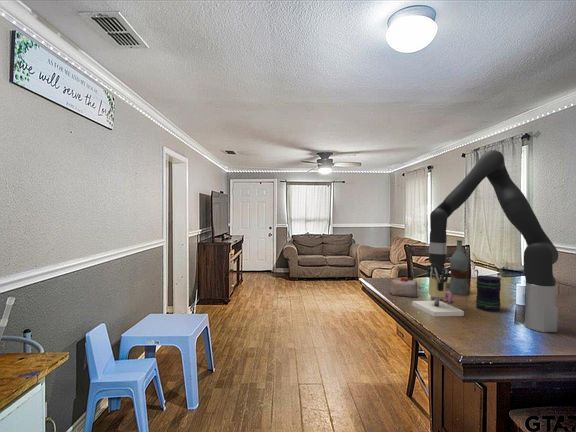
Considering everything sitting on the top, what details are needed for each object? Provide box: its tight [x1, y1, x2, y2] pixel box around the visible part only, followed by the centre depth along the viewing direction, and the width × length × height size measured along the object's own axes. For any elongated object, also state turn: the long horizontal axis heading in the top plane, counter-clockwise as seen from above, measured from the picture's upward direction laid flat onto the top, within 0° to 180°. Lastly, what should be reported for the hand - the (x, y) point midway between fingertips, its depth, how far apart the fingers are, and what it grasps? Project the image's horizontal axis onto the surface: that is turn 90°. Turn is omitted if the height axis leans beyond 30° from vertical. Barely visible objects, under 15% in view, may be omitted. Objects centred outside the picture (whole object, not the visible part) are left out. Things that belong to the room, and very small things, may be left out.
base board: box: [411, 300, 465, 318], centre depth 152 cm, size 18×14×2 cm
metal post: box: [433, 297, 440, 307], centre depth 152 cm, size 2×2×7 cm
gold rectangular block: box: [428, 277, 447, 298], centre depth 152 cm, size 5×5×8 cm
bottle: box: [448, 239, 469, 296], centre depth 187 cm, size 9×9×30 cm
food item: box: [390, 276, 418, 298], centre depth 180 cm, size 14×8×10 cm, turn 70°
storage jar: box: [475, 275, 502, 313], centre depth 156 cm, size 10×10×15 cm
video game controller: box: [430, 289, 454, 304], centre depth 170 cm, size 10×5×7 cm, turn 47°
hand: (437, 289), depth 152 cm, fingers closed on gold rectangular block, 5 cm apart
